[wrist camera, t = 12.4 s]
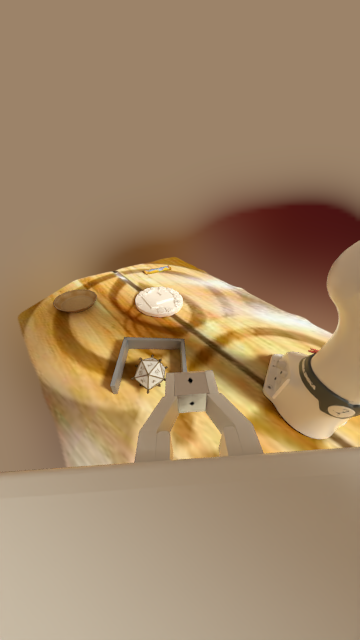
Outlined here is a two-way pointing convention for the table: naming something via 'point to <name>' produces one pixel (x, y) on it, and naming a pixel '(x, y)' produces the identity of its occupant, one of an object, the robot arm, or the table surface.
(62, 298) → the plant saucer
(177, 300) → the embossed medallion
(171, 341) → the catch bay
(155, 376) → the game die
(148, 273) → the candy bar
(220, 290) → the table surface
